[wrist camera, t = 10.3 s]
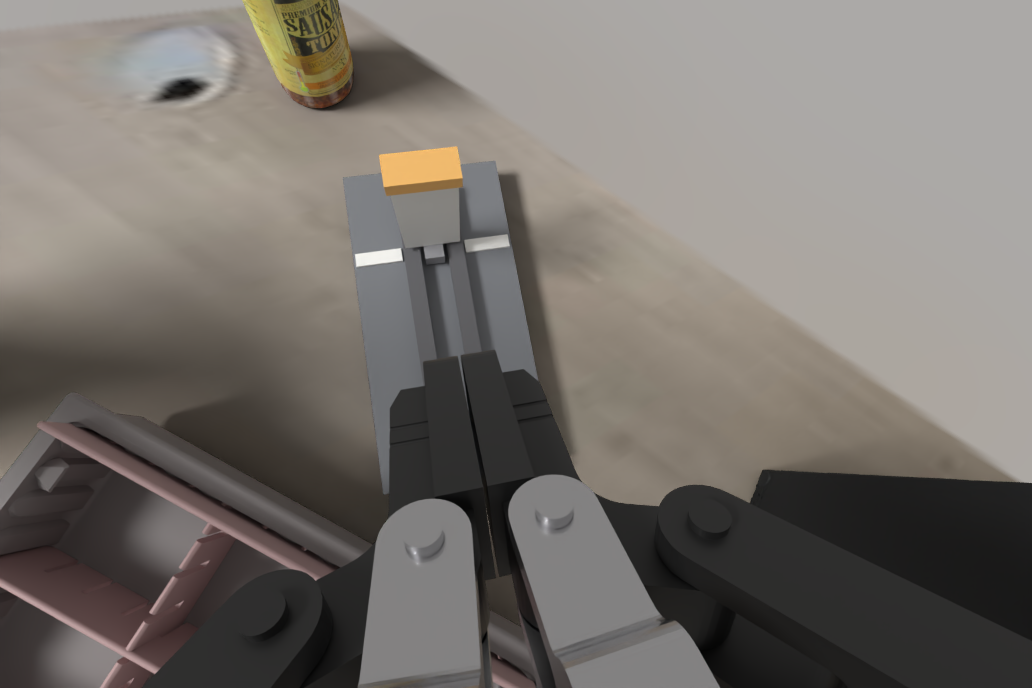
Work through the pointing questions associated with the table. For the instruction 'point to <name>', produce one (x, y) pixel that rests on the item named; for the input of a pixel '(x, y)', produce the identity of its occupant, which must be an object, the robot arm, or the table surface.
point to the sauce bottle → (305, 48)
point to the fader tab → (425, 197)
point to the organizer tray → (147, 551)
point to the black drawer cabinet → (922, 532)
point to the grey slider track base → (433, 292)
